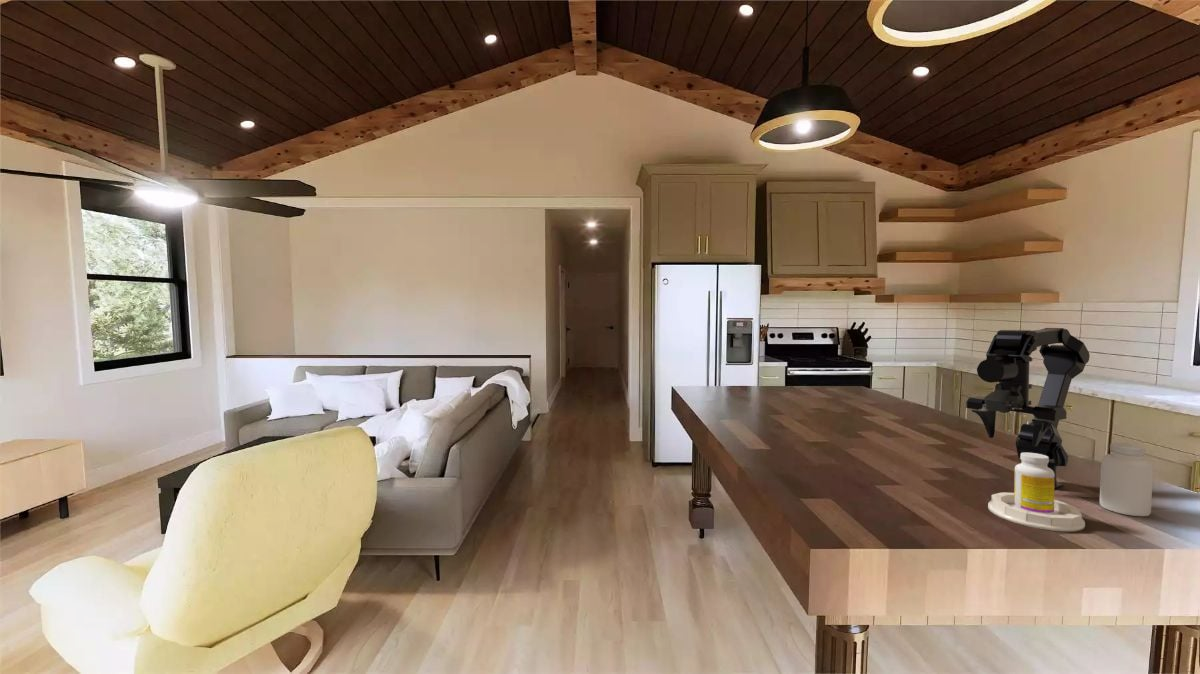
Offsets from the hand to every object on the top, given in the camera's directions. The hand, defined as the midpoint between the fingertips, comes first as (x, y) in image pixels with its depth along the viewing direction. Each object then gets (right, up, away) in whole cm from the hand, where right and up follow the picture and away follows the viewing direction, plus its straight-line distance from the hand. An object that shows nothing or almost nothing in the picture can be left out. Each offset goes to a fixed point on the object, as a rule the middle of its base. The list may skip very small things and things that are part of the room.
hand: (1012, 441), depth 120 cm
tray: (-7, -14, -13) cm, 20 cm away
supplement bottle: (-7, -13, -13) cm, 20 cm away
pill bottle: (+16, -13, -11) cm, 24 cm away
